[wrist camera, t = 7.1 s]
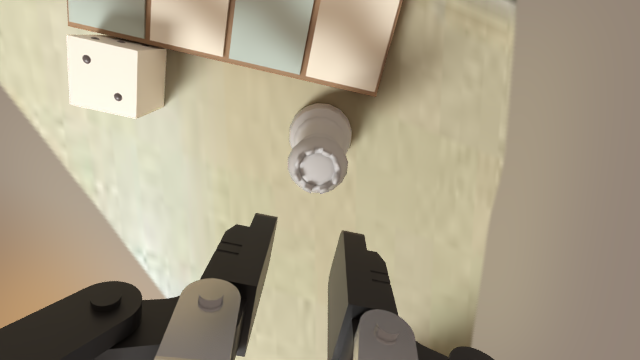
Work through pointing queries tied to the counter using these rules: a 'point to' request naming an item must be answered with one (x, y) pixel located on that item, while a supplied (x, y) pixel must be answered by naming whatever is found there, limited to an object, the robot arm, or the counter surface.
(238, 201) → the counter surface
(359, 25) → the board
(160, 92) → the die
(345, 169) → the rook chess piece
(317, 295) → the counter surface
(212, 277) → the robot arm
